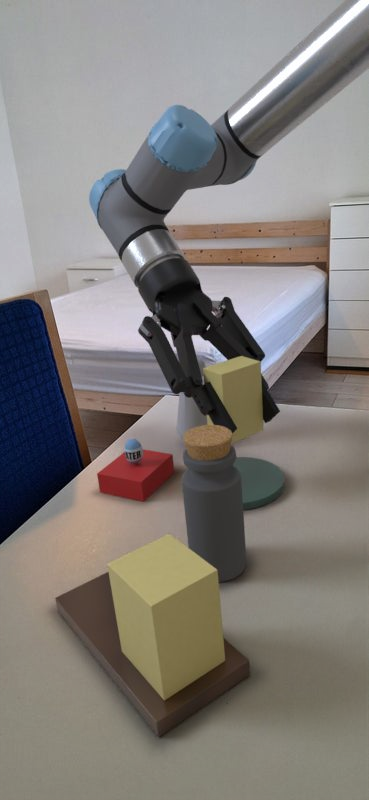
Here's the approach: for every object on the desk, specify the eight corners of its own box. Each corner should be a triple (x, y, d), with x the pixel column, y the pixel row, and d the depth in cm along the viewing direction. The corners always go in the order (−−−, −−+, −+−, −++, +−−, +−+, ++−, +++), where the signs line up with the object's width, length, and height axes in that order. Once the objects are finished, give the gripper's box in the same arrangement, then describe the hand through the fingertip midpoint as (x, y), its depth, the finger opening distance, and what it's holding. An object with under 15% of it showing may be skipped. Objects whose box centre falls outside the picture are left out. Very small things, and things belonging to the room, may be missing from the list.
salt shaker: (193, 431, 94) (185, 352, 89) (223, 438, 90) (217, 356, 86) (170, 446, 89) (161, 364, 85) (202, 454, 86) (194, 369, 81)
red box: (143, 501, 75) (137, 457, 73) (100, 492, 79) (93, 449, 76) (174, 472, 82) (169, 430, 79) (132, 464, 85) (127, 424, 83)
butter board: (136, 570, 63) (134, 558, 62) (250, 674, 49) (249, 660, 48) (57, 610, 58) (54, 597, 57) (158, 737, 44) (156, 722, 43)
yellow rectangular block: (245, 422, 77) (241, 355, 73) (263, 430, 74) (260, 361, 71) (208, 436, 74) (202, 368, 70) (226, 445, 71) (221, 374, 68)
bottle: (181, 558, 64) (167, 431, 58) (230, 541, 66) (221, 417, 60) (205, 590, 59) (192, 454, 53) (256, 571, 61) (249, 438, 55)
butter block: (179, 618, 53) (169, 533, 50) (225, 660, 48) (217, 569, 45) (121, 651, 50) (106, 563, 47) (164, 701, 45) (151, 606, 42)
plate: (242, 454, 85) (241, 448, 84) (304, 485, 75) (304, 478, 75) (173, 485, 79) (172, 478, 78) (231, 522, 69) (230, 514, 69)
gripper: (208, 280, 85) (293, 416, 79) (90, 306, 76) (175, 465, 69) (230, 244, 79) (324, 388, 73) (104, 268, 69) (199, 437, 63)
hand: (251, 425), depth 71 cm, fingers closed on yellow rectangular block, 6 cm apart
